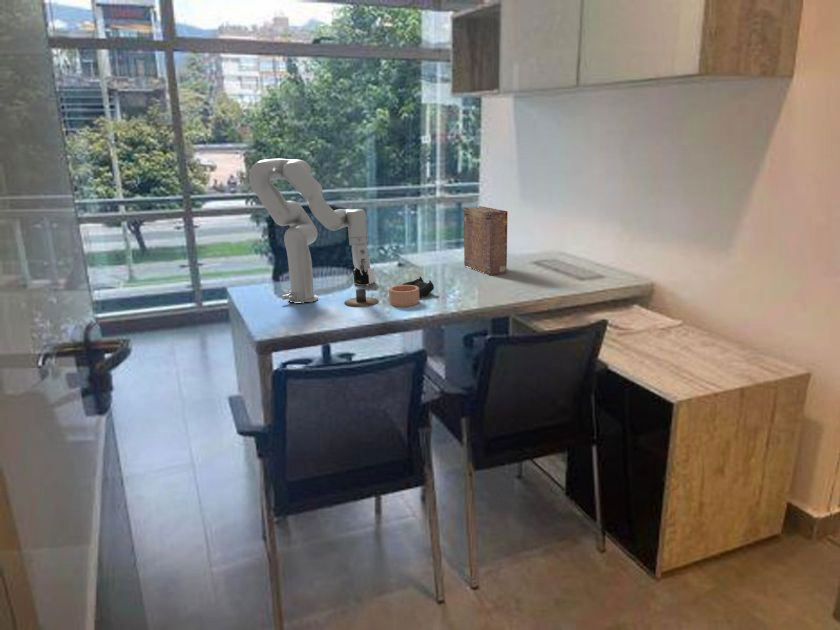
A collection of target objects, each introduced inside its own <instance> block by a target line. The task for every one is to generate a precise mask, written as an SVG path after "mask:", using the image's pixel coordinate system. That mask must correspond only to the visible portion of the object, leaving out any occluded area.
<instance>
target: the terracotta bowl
mask: <svg viewBox="0 0 840 630" xmlns="http://www.w3.org/2000/svg"><path fill="white" fill-rule="evenodd" d="M420 299H421V298H419V287H417V286H414V285H402V284H400V285H399V284H398V285H394V286H390V287H389V288H388V302H389V304H390V305H391V306H393V307H400V308H402V307H413V306H416V305H418V304H420Z"/></svg>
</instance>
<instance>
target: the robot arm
mask: <svg viewBox="0 0 840 630" xmlns="http://www.w3.org/2000/svg"><path fill="white" fill-rule="evenodd" d="M248 176H249V179H248V180H249V184H250V186H251V189H252V191H253V192H254V193H255V195H256V196H257V198H258V199H259V200H260V202H261V203H262V205H263V206H264V208H265V209H266V211H267V212H268V214H269V215H270V217H271V218H272V220H273V221H274V223H275V224H277V225H278V226H280V227H286V226H289V228H288V229H286V231H285V233H284V236H283V241H284V245H285V250H286V254H287V263H288V264H287V265H288V275H289V285H290V290H288V293H286V294H283V295H281V299H282V300H283V301H284V300H287V301H288V300H289V301H292V302H301V303H302V304H304V303H303V302H310V303H313V301H314V302H316V301H317V300H319V296H318V295H317V294H315V291H314V290H315V288H314V276H313V275H314V274H313V263H312V256H311V255H312V254H311V251H310V248H309V245H311V244H313V243H314V242H315V241H316V240H317V239H318V230H317V227H316V226H315V224H314V222H313V221H312V219H311V218H310V217H309V215H308V214H307V212H306V211H305V209H304V208H303V206H302V205H300V203H298V201H295V200H287V199H285V197H284V196H283V194H282V193H281V191H280V190H279V189H278V187H276V186H275V185H274V184H273V182H272V181H278V180H279V181H280V180H284V181H287V182H288V183H289V185H291V186H292V188H294V189H295V191H297V193H299V195H300V196H301V197H302V198H303V199H304V200H305V201H306V203H307V206H308V208H309V209H310V212H311V213H312V215H313V216H314V217H315V219H317V221H318V222H319V223H320V224H321V225H322V226H324V228H325V229H327V230H329V231H332V232H334V231H338V230H340V229H343V228H346V227H347V233H348V242H349V244H348V245H349V246H351V252H352V253H351V254H352V262H353V266H354V269H355V278H356V280H361V284H362V285H361V286H364V285H366V284H369V275H368V269H369V268H370V267H371V261H370V262H369V259H370V257H369V249H368V244H369V238H368V237H369V235H368V228H367V226H368V225H367V215H366V211H365V209H362V208H356V209H355V208H354V209H345V208H338V209H335V210H334V209H333V208H332V207H331V206H330V205H329V204H328V203H327V201H326V200H325V198H324V196H323V186H322V184H320V183H319V182H318V181H317V179H316V178H314V177H313V175H312V167H311V166H310V164H309V163H308V162H307V161H306V160H302V159H290V158H289V159H288V158H287V159H286V158H269V159H267V158H266V159H261V160H258V161H256V162H255V163H254V164H252V167H251V168H250V170H249V175H248ZM367 268H368V269H367Z"/></svg>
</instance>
